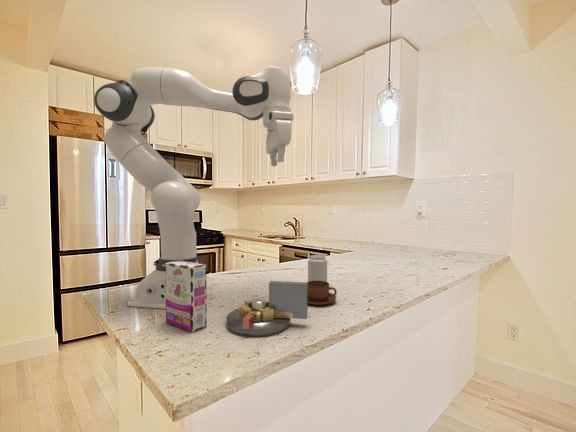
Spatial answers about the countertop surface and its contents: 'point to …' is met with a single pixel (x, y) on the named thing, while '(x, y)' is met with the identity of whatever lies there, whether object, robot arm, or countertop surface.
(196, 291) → the candy bar box
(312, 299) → the cup and saucer
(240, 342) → the countertop surface
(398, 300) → the countertop surface
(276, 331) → the cap plate
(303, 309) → the gray slab gold ring
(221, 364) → the countertop surface
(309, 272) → the can
